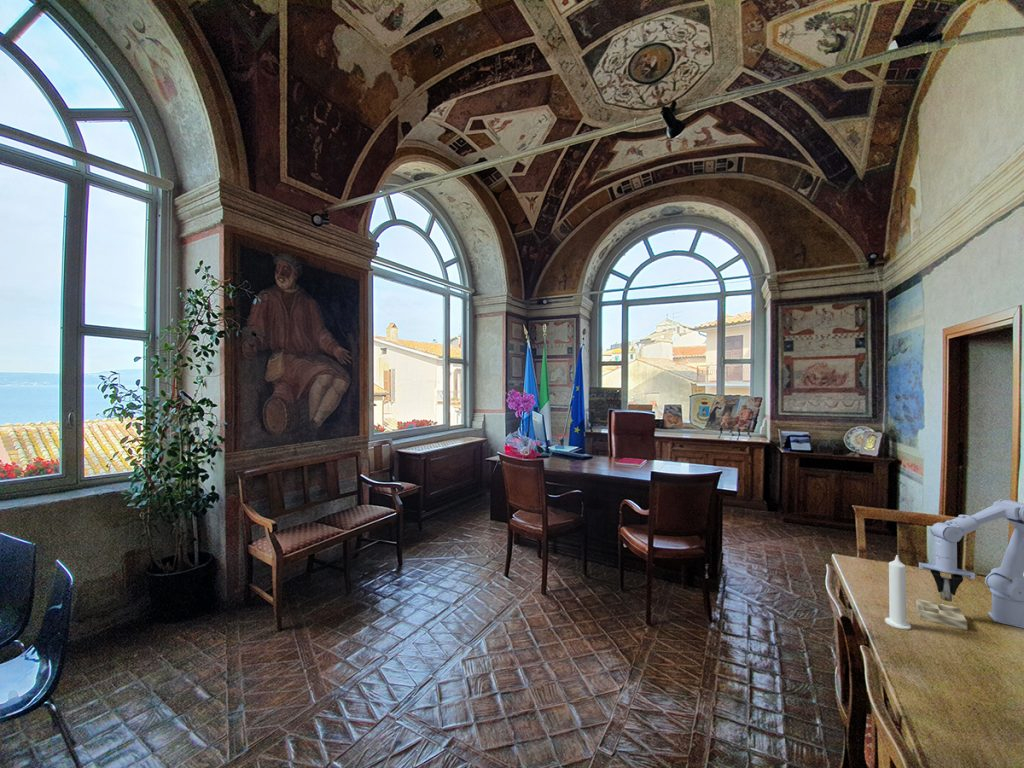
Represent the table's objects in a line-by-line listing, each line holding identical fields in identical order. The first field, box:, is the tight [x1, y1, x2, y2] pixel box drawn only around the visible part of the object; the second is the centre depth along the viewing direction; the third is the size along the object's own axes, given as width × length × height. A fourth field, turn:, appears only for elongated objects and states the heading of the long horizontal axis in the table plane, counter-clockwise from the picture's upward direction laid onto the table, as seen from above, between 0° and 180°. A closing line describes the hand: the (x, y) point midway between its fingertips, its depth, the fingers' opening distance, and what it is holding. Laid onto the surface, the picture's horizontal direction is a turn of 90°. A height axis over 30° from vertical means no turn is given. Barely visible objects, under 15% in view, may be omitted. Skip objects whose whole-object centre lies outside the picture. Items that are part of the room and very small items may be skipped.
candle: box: [884, 554, 912, 631], centre depth 153 cm, size 7×7×25 cm
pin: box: [939, 575, 953, 602], centre depth 158 cm, size 3×3×8 cm
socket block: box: [915, 598, 968, 631], centre depth 157 cm, size 12×12×3 cm
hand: (946, 592), depth 158 cm, fingers closed on pin, 3 cm apart
